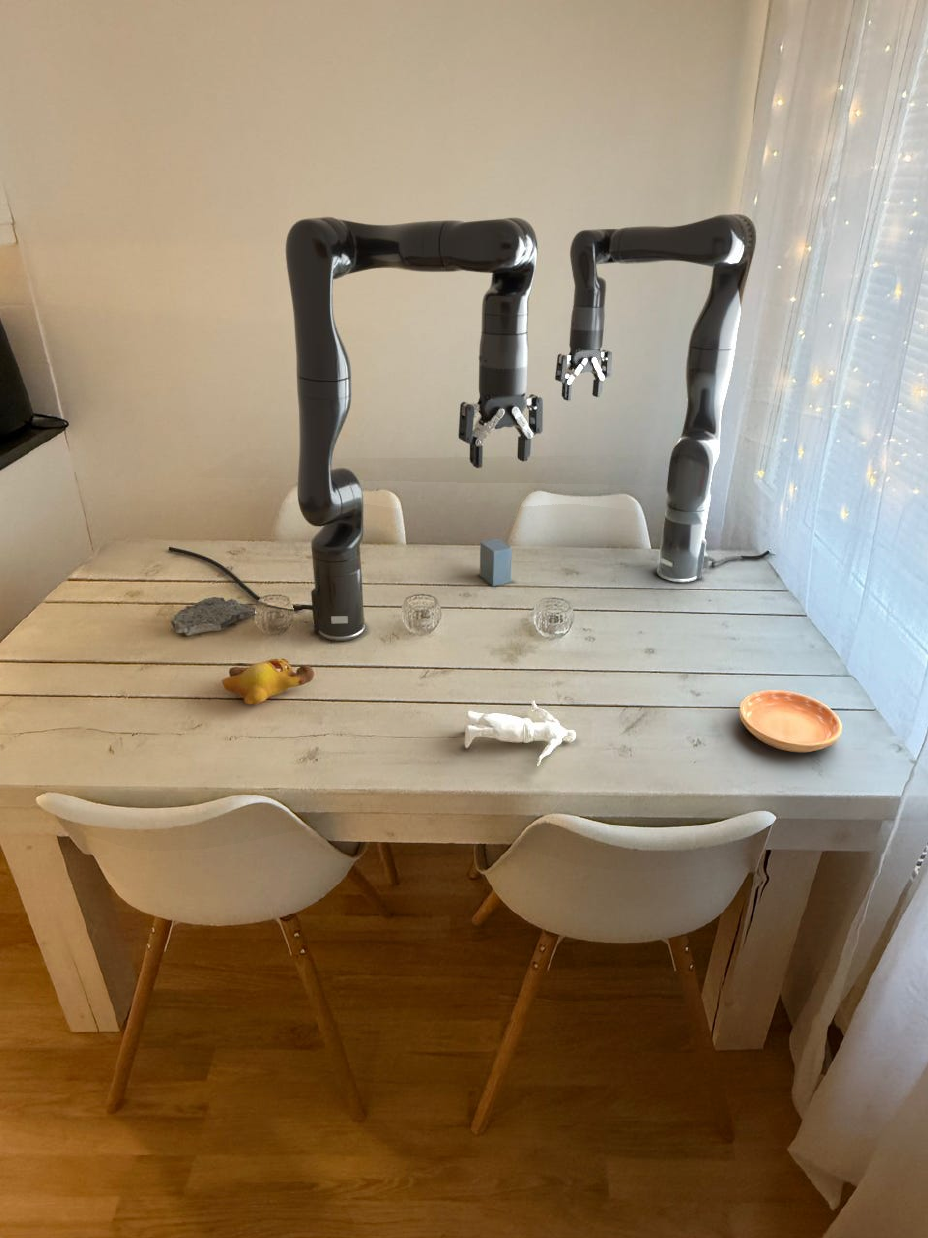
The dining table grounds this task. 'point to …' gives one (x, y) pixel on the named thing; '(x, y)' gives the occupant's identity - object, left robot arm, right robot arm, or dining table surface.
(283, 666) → the toy
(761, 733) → the saucer
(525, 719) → the figurine
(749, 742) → the dining table surface
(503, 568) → the block
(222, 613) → the stone slab
